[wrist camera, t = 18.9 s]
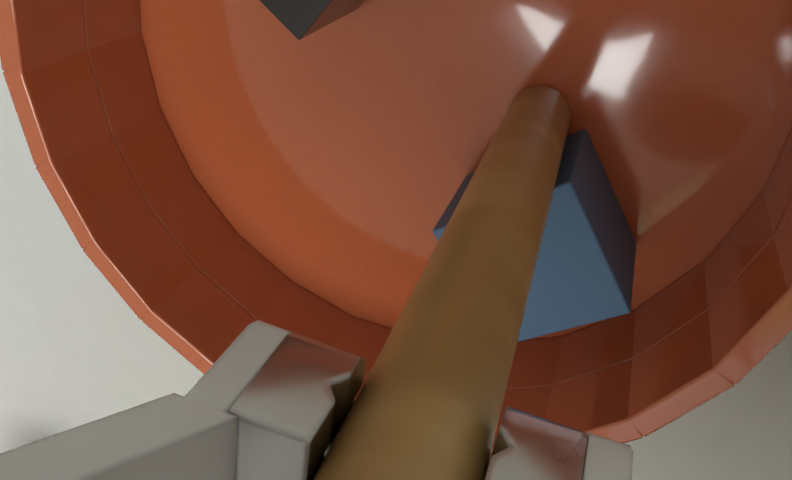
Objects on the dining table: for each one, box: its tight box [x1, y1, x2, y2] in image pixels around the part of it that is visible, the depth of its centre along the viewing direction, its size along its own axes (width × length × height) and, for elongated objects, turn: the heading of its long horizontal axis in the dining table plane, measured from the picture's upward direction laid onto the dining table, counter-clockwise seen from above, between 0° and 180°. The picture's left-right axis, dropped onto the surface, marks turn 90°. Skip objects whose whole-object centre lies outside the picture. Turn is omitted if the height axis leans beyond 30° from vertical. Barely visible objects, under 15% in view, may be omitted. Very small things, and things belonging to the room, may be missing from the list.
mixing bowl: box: [0, 0, 792, 459], centre depth 20 cm, size 21×21×6 cm
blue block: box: [433, 129, 636, 342], centre depth 21 cm, size 4×4×4 cm
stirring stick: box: [313, 86, 571, 480], centre depth 13 cm, size 2×2×18 cm
